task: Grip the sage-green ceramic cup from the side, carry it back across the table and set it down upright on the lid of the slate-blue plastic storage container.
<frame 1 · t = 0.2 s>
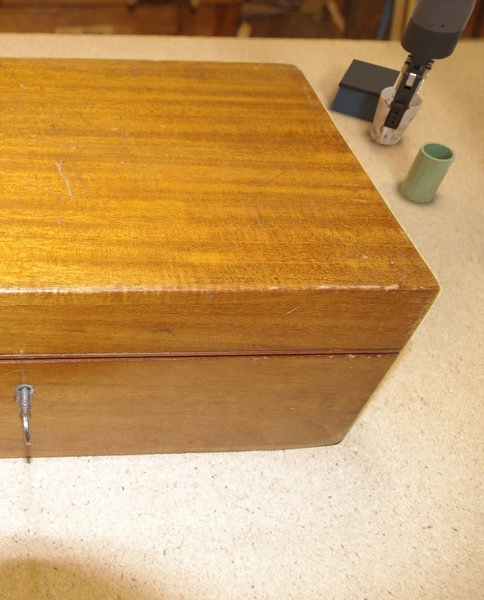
hand: (396, 114, 115), 25 cm above the worktop, tool pointing down, fingers open, 8 cm apart
mug: (381, 142, 153), on the worktop
cup: (416, 192, 141), on the worktop
container: (359, 104, 163), on the worktop
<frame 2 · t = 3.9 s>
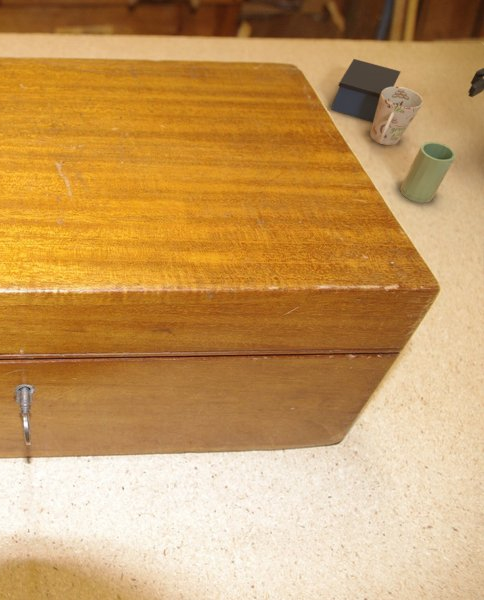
nothing on the worktop moved.
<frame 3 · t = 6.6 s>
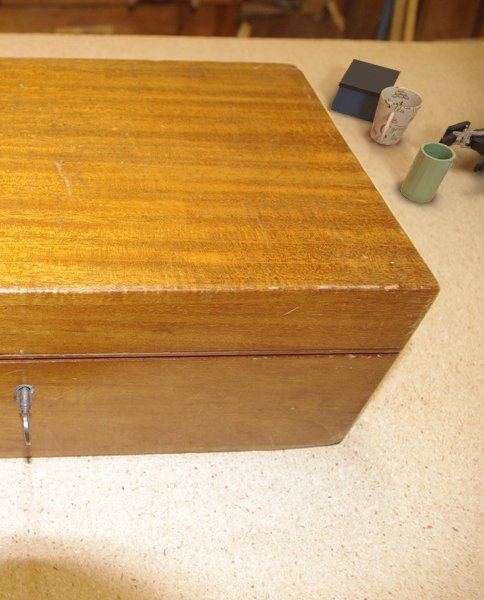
hand: (458, 156, 139), 6 cm above the worktop, tool horizontal, fingers open, 8 cm apart
nothing on the worktop moved.
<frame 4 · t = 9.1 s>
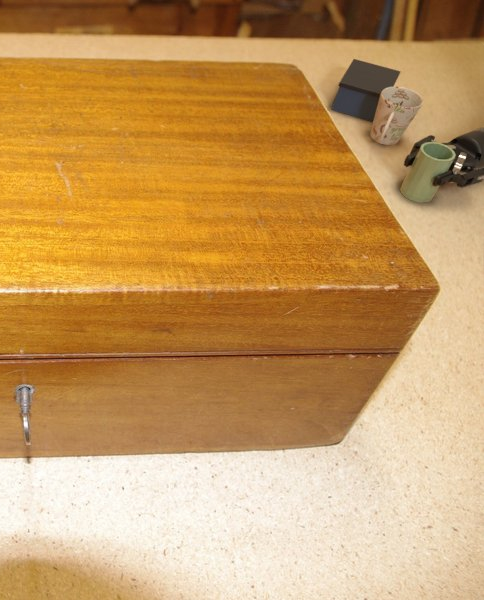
hand: (421, 171, 136), 6 cm above the worktop, tool horizontal, fingers closed on cup, 6 cm apart
cup: (416, 192, 141), on the worktop, touching gripper
everything else where it was.
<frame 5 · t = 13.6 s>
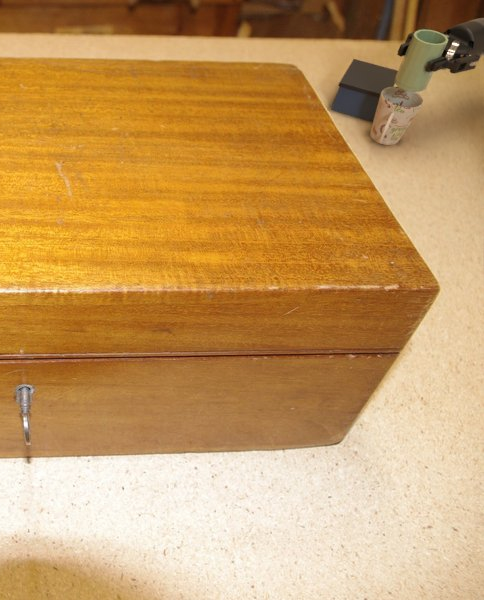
hand: (414, 58, 137), 20 cm above the worktop, tool horizontal, fingers closed on cup, 6 cm apart
cup: (410, 83, 143), point 14 cm above the worktop, touching gripper
everything else where it was.
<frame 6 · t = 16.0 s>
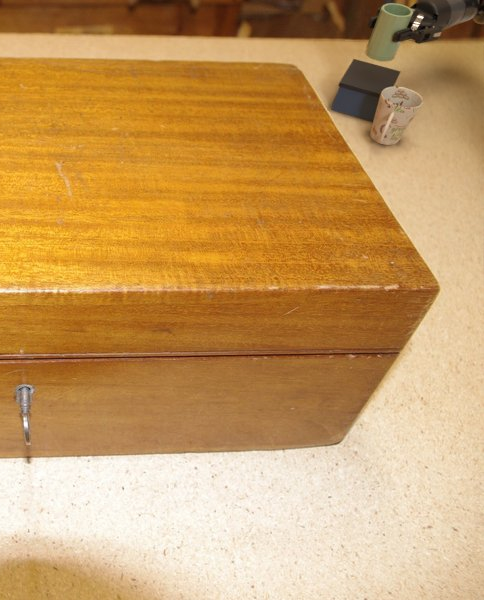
hand: (382, 30, 149), 18 cm above the worktop, tool horizontal, fingers closed on cup, 6 cm apart
cup: (379, 54, 154), point 12 cm above the worktop, touching gripper
everything else where it was.
when the fingers open (13 cm above the worktop, at t = 18.0 s): cup stays where it is, resting on container.
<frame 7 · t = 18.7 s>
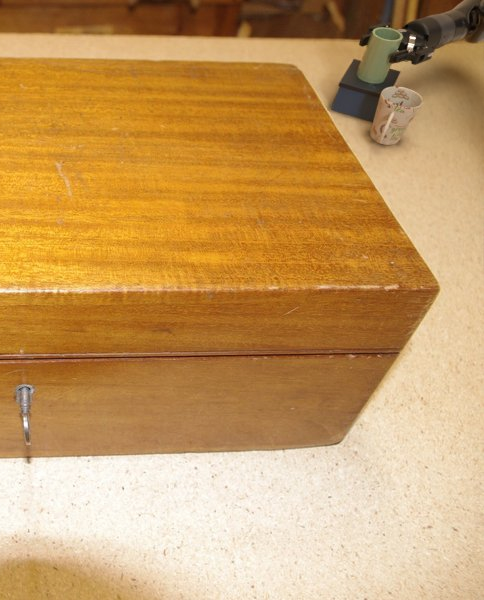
hand: (376, 50, 152), 14 cm above the worktop, tool horizontal, fingers open, 8 cm apart
cup: (370, 76, 158), point 7 cm above the worktop, touching container
everything else where it was.
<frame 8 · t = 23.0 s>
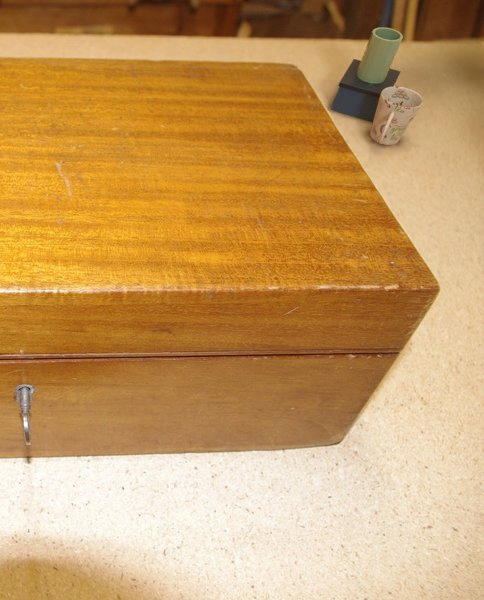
nothing on the worktop moved.
at the end: cup inside the target area on the container (0.1 cm from its centre), point 7.0 cm above the container's base; cup tilted 0°; the gripper is holding nothing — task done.
